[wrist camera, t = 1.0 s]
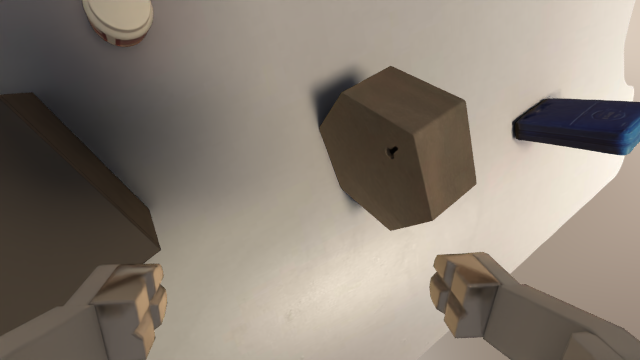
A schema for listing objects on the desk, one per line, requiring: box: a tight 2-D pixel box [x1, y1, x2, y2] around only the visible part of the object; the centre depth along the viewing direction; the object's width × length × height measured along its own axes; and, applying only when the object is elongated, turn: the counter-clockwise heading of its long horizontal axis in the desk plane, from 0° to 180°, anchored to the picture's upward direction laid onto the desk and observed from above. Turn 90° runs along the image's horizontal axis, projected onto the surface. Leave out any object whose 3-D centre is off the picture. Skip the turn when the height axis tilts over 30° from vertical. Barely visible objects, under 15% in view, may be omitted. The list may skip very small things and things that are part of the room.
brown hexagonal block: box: [319, 66, 476, 231], centre depth 40 cm, size 17×8×21 cm
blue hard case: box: [515, 98, 640, 155], centre depth 64 cm, size 14×5×20 cm, turn 111°
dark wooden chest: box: [0, 92, 160, 246], centre depth 26 cm, size 15×13×10 cm
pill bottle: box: [82, 0, 153, 47], centre depth 27 cm, size 5×5×8 cm
